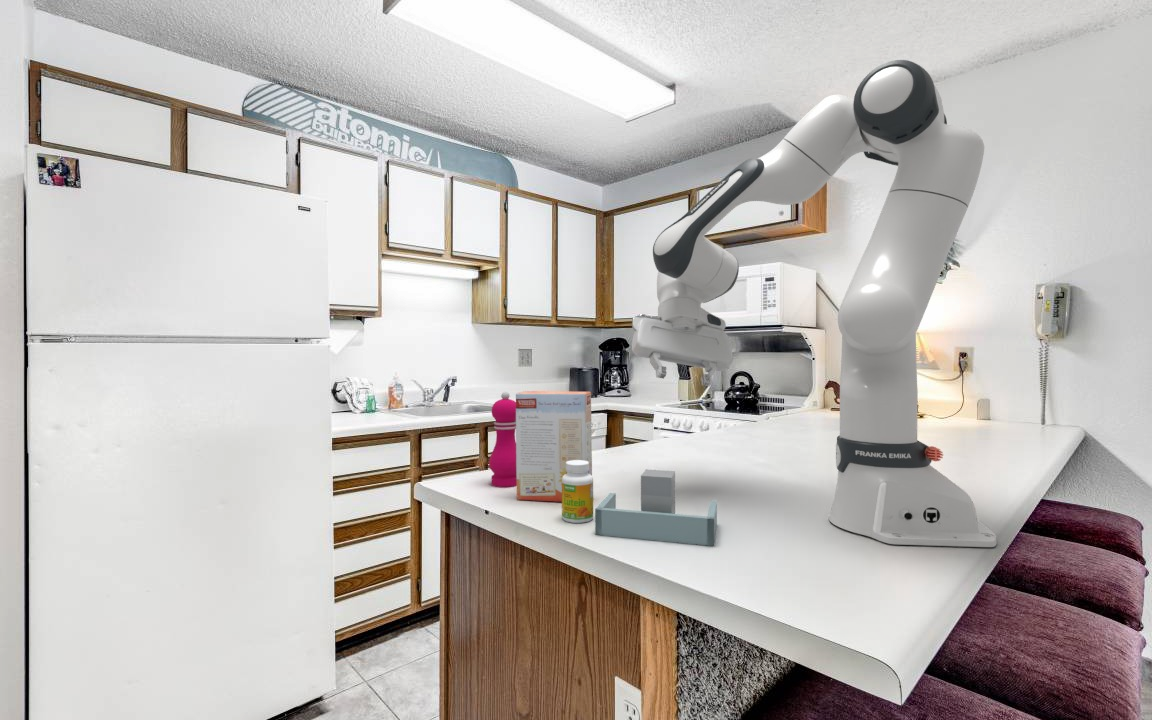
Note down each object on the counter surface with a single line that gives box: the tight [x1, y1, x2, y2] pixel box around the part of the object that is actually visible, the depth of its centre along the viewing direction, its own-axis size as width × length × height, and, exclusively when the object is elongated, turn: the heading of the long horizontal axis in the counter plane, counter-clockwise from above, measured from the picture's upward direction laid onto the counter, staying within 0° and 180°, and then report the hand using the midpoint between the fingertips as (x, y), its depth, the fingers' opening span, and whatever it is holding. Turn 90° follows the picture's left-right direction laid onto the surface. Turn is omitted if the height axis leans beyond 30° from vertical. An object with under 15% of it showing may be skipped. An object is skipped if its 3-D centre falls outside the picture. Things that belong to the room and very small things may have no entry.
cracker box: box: [515, 390, 593, 503], centre depth 105 cm, size 14×6×21 cm, turn 77°
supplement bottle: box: [561, 460, 594, 524], centre depth 92 cm, size 5×5×10 cm
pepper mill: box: [488, 391, 517, 488], centre depth 117 cm, size 7×7×20 cm
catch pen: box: [594, 492, 718, 547], centre depth 86 cm, size 18×10×4 cm, turn 73°
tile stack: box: [640, 468, 676, 514], centre depth 87 cm, size 5×5×9 cm
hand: (684, 380), depth 103 cm, fingers open, 8 cm apart
